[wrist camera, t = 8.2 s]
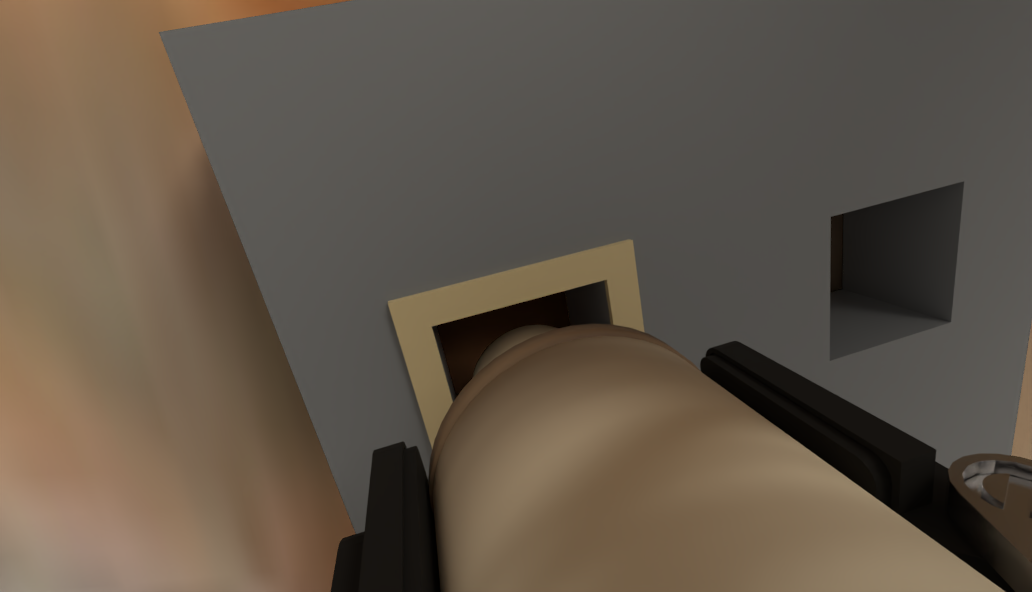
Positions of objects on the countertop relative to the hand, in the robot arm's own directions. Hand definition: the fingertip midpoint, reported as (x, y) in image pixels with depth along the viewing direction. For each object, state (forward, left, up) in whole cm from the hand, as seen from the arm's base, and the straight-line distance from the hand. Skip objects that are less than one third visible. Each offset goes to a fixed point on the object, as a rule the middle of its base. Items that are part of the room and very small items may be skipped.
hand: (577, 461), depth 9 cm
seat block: (-6, 0, -7) cm, 9 cm away
